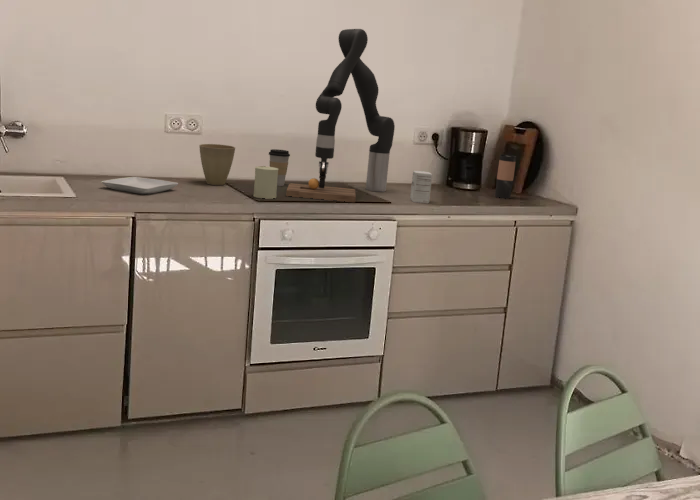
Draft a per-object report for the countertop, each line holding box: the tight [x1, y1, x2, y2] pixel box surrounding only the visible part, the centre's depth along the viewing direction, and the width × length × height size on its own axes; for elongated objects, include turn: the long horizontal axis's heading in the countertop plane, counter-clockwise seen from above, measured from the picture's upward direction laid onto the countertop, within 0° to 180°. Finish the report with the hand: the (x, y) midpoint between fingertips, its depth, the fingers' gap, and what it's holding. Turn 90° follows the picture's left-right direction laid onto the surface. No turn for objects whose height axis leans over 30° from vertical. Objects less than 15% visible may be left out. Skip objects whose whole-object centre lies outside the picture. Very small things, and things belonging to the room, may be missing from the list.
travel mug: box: [494, 153, 517, 199], centre depth 375 cm, size 8×8×20 cm
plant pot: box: [199, 143, 236, 186], centre depth 334 cm, size 15×15×16 cm
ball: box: [307, 177, 320, 189], centre depth 331 cm, size 4×4×4 cm
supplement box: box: [409, 170, 433, 204], centre depth 340 cm, size 7×7×13 cm
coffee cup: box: [268, 148, 291, 187], centre depth 349 cm, size 9×9×15 cm
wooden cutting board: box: [285, 183, 357, 203], centre depth 331 cm, size 20×28×2 cm
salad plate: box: [101, 176, 179, 195], centre depth 305 cm, size 21×21×3 cm
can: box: [252, 165, 278, 200], centre depth 314 cm, size 9×9×12 cm
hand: (321, 187), depth 331 cm, fingers closed
